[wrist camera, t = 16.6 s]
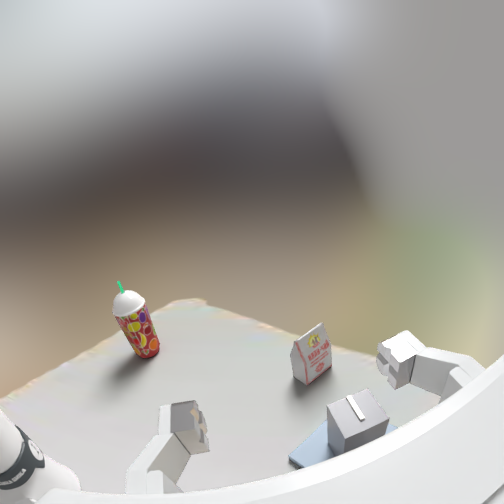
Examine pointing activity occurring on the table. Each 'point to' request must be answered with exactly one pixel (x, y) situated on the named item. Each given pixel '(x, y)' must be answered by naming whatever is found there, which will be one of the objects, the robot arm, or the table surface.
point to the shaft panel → (318, 447)
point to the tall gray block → (355, 422)
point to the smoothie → (136, 322)
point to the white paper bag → (311, 355)
